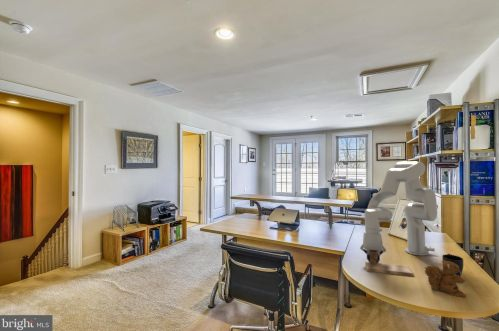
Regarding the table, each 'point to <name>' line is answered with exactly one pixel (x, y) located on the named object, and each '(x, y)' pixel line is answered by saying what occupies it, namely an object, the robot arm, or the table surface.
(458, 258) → the mug
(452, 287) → the stuffed squirrel
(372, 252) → the walnut gauge
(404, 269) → the teak board
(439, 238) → the table surface
